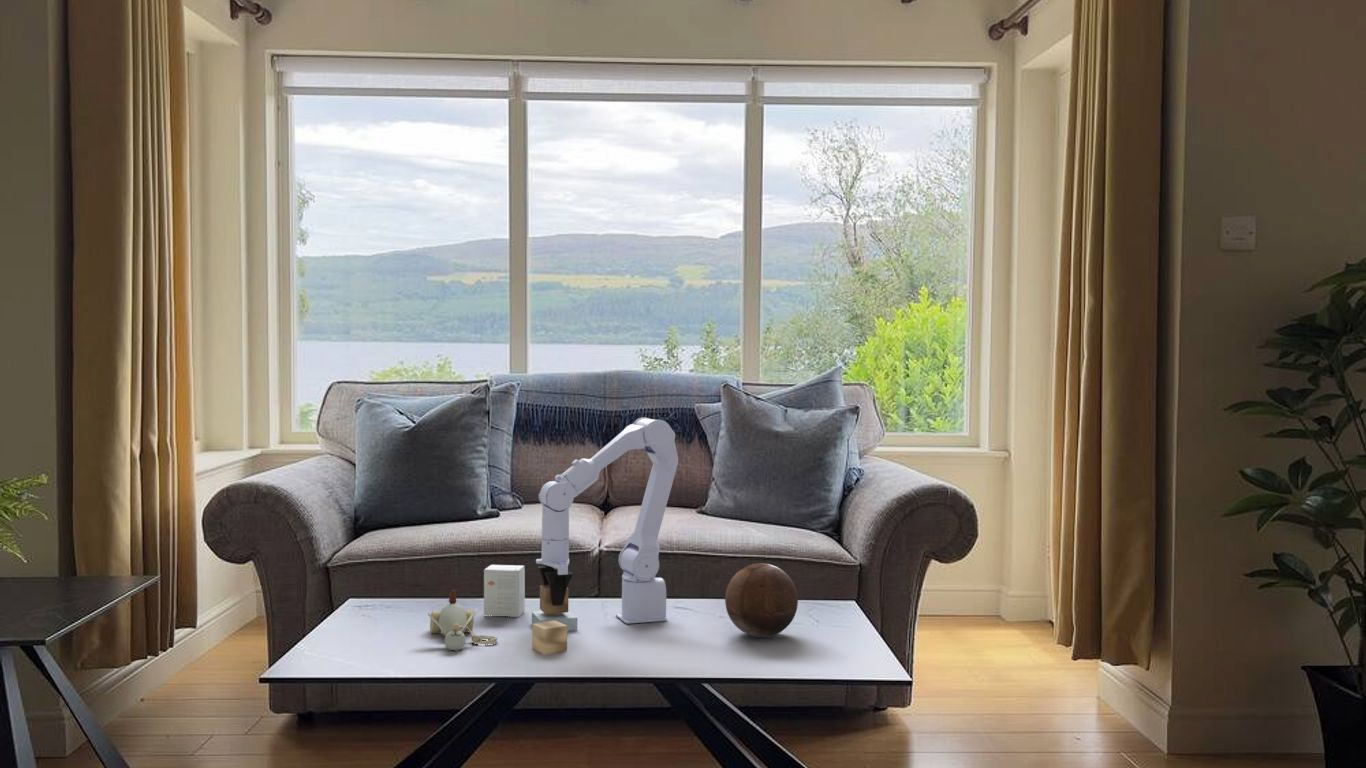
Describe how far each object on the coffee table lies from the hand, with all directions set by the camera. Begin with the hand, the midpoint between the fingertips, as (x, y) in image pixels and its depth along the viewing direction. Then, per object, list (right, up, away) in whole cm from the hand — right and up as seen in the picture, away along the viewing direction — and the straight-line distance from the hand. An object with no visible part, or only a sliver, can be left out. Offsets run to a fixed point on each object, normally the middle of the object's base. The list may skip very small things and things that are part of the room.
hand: (554, 602), depth 224 cm
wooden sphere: (+43, -6, -5) cm, 44 cm away
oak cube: (+1, -6, -18) cm, 18 cm away
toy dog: (-19, -6, -11) cm, 22 cm away
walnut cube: (0, -2, 0) cm, 2 cm away
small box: (-12, -5, +10) cm, 17 cm away
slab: (0, -6, 0) cm, 6 cm away
